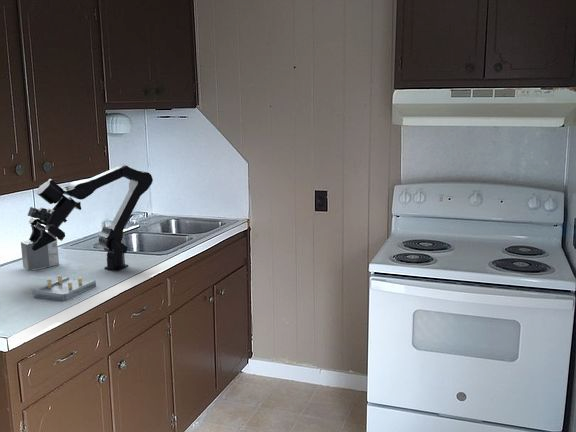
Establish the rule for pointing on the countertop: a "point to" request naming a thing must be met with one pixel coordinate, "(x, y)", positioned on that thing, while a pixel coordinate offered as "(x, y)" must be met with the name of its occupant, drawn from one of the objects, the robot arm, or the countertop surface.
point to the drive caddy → (34, 255)
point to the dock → (63, 288)
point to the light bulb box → (52, 254)
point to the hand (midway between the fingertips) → (30, 248)
